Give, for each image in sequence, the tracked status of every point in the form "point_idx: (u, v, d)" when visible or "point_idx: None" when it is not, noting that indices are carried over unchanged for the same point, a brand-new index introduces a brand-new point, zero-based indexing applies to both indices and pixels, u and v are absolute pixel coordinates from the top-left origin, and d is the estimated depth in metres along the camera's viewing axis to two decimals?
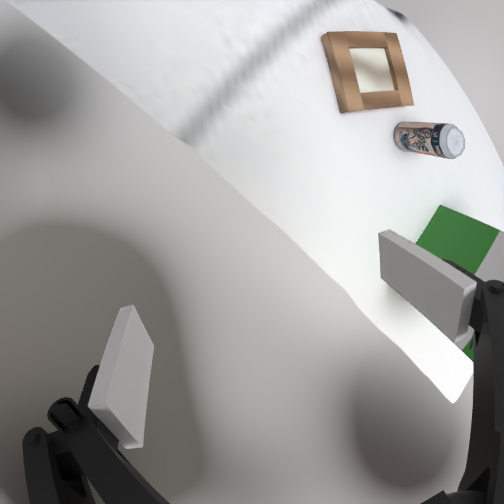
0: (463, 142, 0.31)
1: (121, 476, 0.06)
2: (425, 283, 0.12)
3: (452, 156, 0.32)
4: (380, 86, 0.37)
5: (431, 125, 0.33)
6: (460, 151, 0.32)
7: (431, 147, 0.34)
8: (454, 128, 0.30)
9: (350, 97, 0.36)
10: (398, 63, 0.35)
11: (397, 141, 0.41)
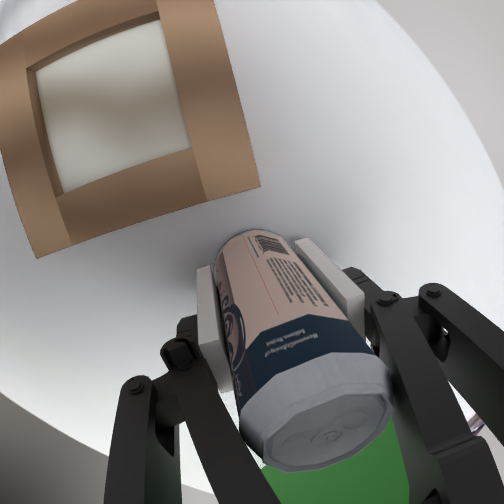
0: (384, 416, 0.07)
1: (222, 423, 0.07)
2: None
3: None
4: (139, 148, 0.13)
5: (254, 321, 0.10)
6: (357, 444, 0.08)
7: None
8: (329, 398, 0.06)
9: (32, 218, 0.12)
10: (196, 51, 0.11)
11: None
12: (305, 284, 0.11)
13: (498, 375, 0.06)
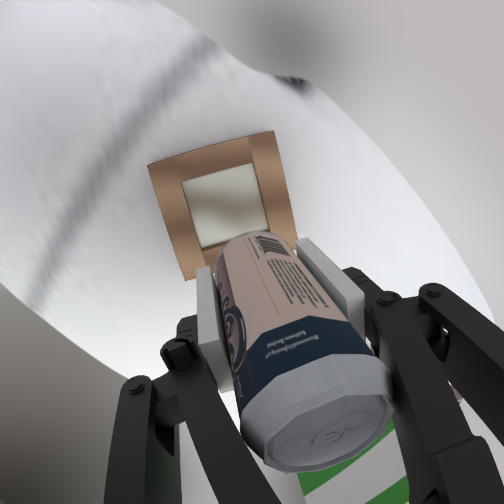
0: (384, 417, 0.07)
1: (222, 423, 0.07)
2: None
3: None
4: (242, 228, 0.31)
5: (255, 322, 0.10)
6: (357, 445, 0.08)
7: None
8: (330, 399, 0.06)
9: (186, 261, 0.30)
10: (272, 186, 0.28)
11: None
12: (306, 285, 0.11)
13: (499, 375, 0.06)
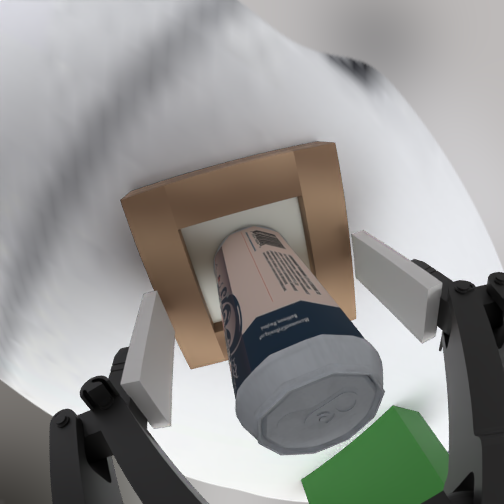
0: (375, 399, 0.08)
1: (150, 457, 0.06)
2: (393, 283, 0.12)
3: None
4: None
5: (250, 308, 0.10)
6: (350, 428, 0.08)
7: None
8: (319, 377, 0.07)
9: (190, 345, 0.19)
10: (329, 234, 0.18)
11: None
12: (299, 275, 0.12)
13: None
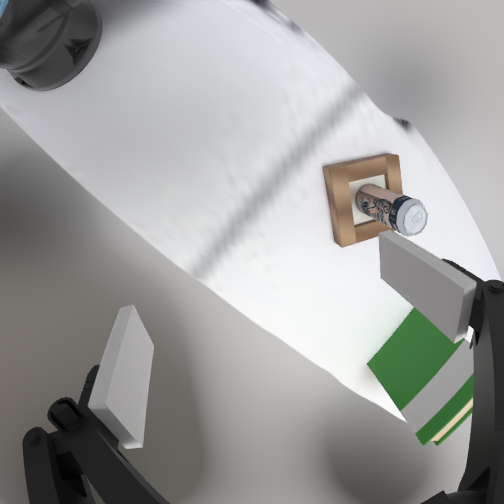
0: (425, 218, 0.33)
1: (121, 476, 0.06)
2: (425, 283, 0.12)
3: (410, 235, 0.34)
4: None
5: (391, 198, 0.35)
6: (421, 228, 0.33)
7: (389, 222, 0.36)
8: (415, 205, 0.32)
9: (344, 233, 0.44)
10: (395, 189, 0.43)
11: (359, 206, 0.43)
12: None
13: None
